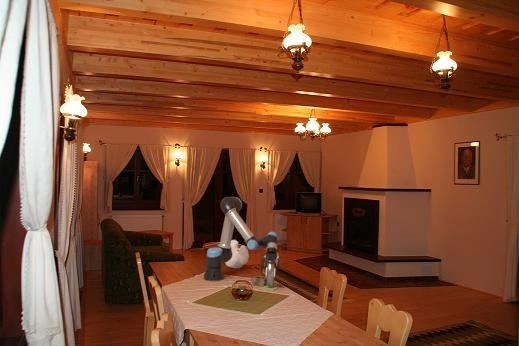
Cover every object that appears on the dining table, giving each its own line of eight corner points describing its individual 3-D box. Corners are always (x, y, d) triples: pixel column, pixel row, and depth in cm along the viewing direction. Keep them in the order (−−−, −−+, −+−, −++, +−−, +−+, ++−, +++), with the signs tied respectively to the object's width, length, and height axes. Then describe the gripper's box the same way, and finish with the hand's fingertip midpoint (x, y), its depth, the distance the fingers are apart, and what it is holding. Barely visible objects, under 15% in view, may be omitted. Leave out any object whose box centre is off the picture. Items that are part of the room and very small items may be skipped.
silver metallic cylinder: (263, 285, 292) (264, 260, 293) (267, 284, 298) (268, 259, 299) (272, 287, 289) (273, 261, 290) (276, 285, 295) (277, 260, 296)
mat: (260, 288, 291) (260, 287, 291) (266, 286, 300) (267, 285, 300) (273, 290, 286) (273, 289, 286) (279, 288, 295) (279, 287, 295)
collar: (251, 284, 302) (251, 277, 303) (258, 282, 312) (258, 275, 312) (264, 286, 297) (264, 279, 297) (270, 284, 307) (271, 277, 307)
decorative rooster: (221, 266, 370) (223, 239, 371) (236, 265, 379) (237, 238, 380) (236, 271, 349) (237, 242, 351) (251, 270, 358) (252, 242, 360)
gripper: (283, 253, 309) (282, 280, 292) (259, 252, 310) (257, 278, 293) (284, 247, 304) (283, 274, 287) (259, 246, 305) (257, 272, 288)
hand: (270, 276), depth 290 cm, fingers closed on silver metallic cylinder, 5 cm apart
